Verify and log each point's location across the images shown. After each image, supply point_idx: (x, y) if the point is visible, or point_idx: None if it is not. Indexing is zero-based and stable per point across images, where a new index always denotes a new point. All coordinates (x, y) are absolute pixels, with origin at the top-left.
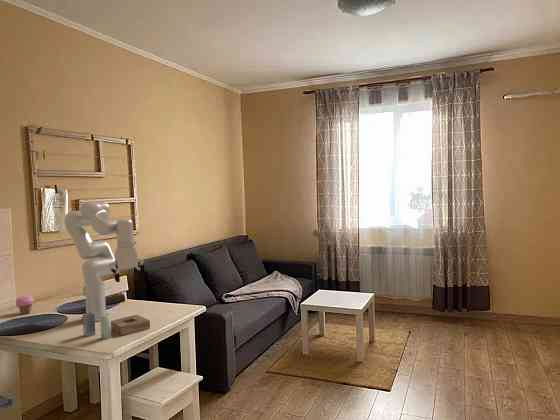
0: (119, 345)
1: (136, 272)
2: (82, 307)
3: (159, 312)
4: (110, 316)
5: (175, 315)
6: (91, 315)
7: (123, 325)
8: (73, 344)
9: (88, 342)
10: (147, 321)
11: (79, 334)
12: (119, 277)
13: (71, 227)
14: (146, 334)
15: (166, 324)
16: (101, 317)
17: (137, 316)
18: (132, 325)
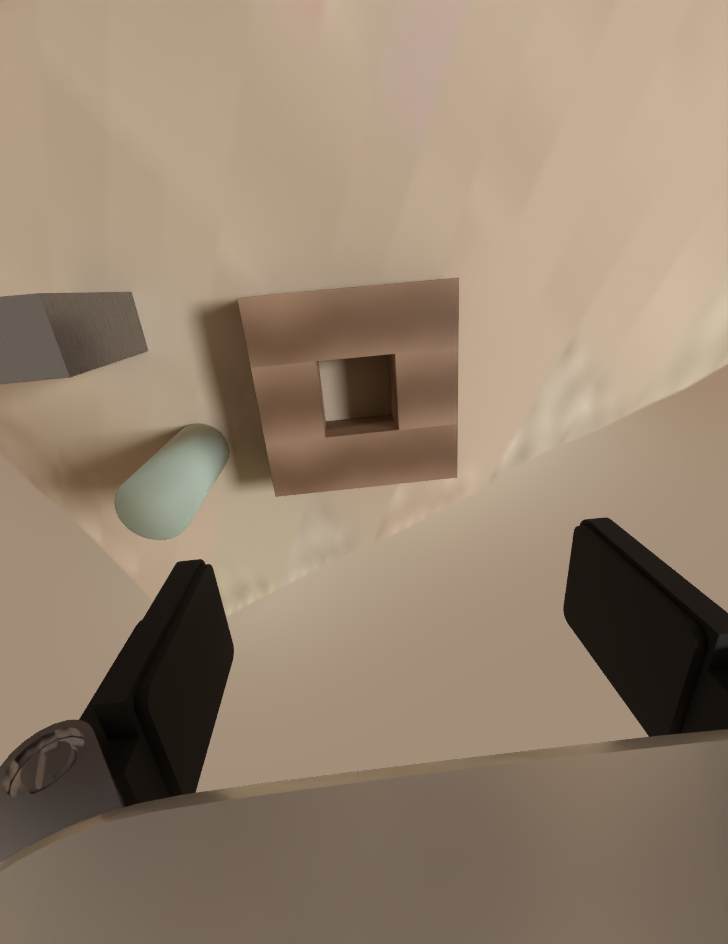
0: (239, 587)
1: (644, 683)
2: None
3: (684, 134)
4: (191, 519)
5: (689, 317)
6: (48, 378)
7: (295, 470)
8: (20, 438)
9: (103, 460)
10: (441, 477)
11: (44, 262)
12: (212, 728)
13: None
14: (389, 531)
15: (541, 453)
16: (123, 518)
17: (438, 336)
18: (344, 486)
